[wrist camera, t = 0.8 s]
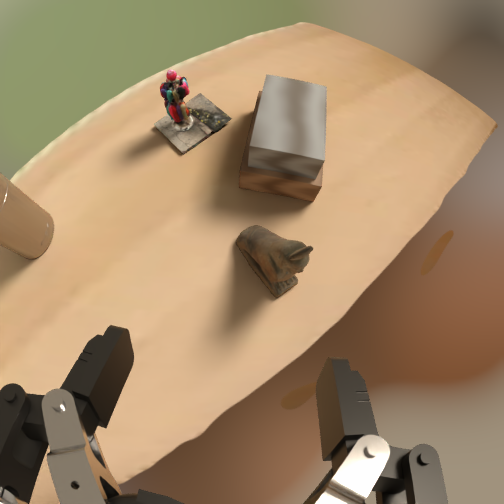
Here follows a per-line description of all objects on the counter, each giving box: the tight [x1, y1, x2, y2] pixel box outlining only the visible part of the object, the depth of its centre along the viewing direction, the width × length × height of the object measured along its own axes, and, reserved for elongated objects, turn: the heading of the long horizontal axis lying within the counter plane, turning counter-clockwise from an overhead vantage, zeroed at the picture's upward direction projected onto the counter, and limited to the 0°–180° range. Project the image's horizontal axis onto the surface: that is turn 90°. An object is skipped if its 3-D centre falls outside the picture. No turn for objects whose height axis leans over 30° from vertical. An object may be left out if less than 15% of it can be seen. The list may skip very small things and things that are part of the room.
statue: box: [154, 70, 232, 155], centre depth 42 cm, size 11×9×15 cm
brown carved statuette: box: [236, 225, 313, 298], centre depth 35 cm, size 11×5×16 cm, turn 30°
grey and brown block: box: [239, 75, 327, 202], centre depth 43 cm, size 12×18×10 cm, turn 170°
